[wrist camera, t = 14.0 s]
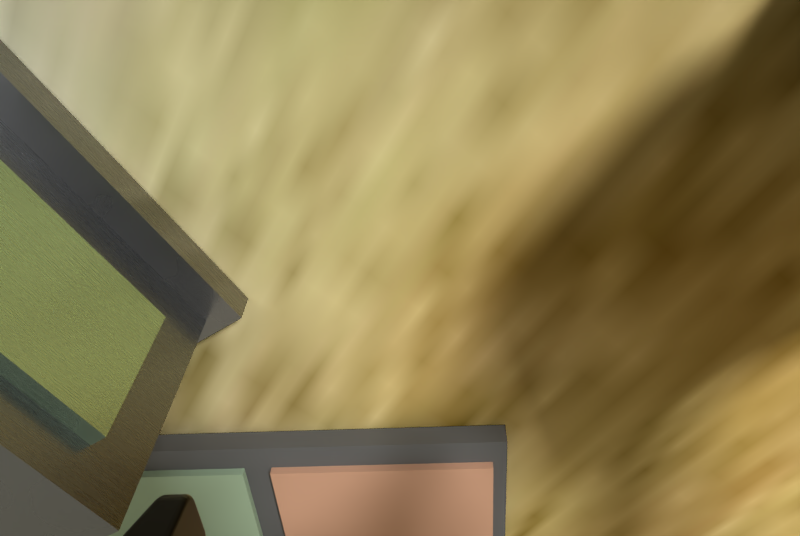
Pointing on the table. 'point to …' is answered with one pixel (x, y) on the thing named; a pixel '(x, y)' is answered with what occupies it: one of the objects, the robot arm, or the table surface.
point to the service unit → (86, 318)
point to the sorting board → (334, 481)
